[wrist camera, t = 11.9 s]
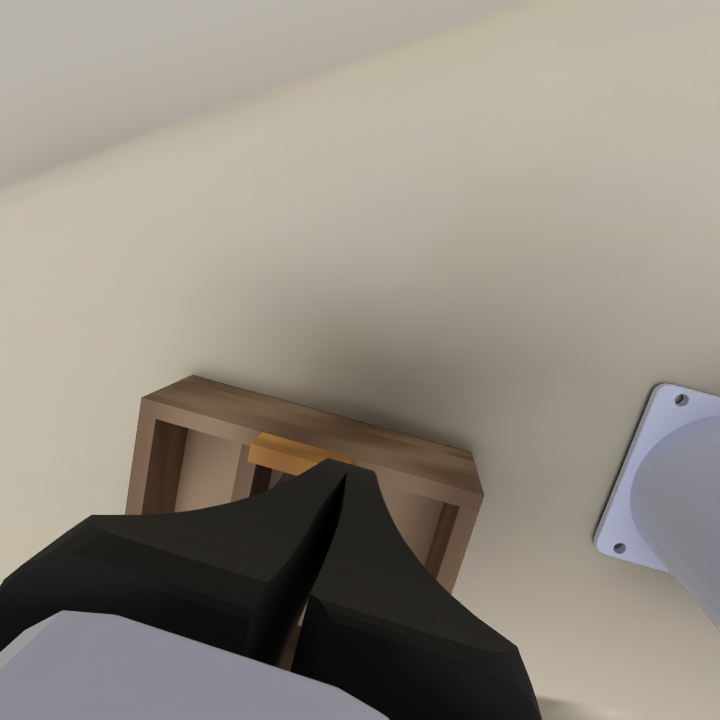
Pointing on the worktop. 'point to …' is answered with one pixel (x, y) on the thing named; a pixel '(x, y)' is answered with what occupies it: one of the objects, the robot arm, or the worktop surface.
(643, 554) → the robot arm
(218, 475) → the rack
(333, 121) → the worktop surface
